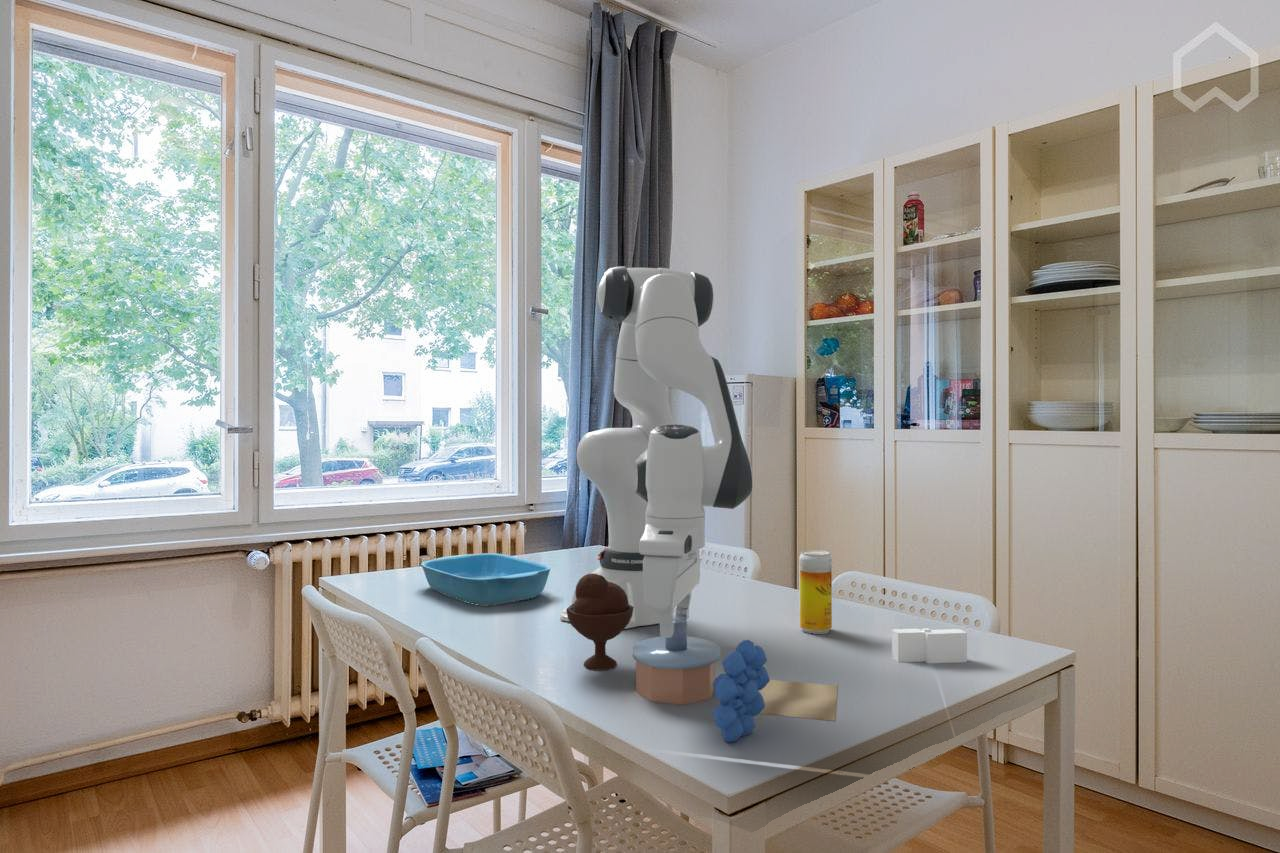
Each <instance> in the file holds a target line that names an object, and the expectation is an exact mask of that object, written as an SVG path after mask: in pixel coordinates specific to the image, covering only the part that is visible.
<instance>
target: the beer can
mask: <svg viewBox="0 0 1280 853" xmlns="http://www.w3.org/2000/svg"><path fill="white" fill-rule="evenodd" d="M832 568H833V567H832V556H831V555H830V552H829V551H826V550H816V549H813V550H812V549H809V550H806V549H805V550H803V551H801V552H800V555H799V557H798V600H799V601H798V610H799V611H798V624H799V625H798V626H799V627H800V628H801V631H802V630H803V631H802V632H804V633H807V634H811V633H813V634H814V635H822V634H828V633H829V632H830V630H831V629H832V626H833V624H832V623H833V621H832V620H833V619H832V618H833V617H832V616H833V615H832V613H833V612H832V610H833V609H832V607H833V603H832V602H833V600H832V596H833V595H832V592H833V591H832V588H833V587H832V584H833V583H832V579H833V578H832V576H833V574H832V571H833V569H832ZM813 634H812V635H813Z"/></svg>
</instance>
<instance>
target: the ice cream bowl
mask: <svg viewBox="0 0 1280 853" xmlns="http://www.w3.org/2000/svg"><path fill="white" fill-rule="evenodd" d="M575 588H576V590H575V589H574V590H575V594H576V598H577V600H576V601H575V602H574V604H572V603H571V604H572V605H571V604H570V605H571V606H570V605H568V606H569V607H568V606H567V607H568V608H567V609H566V610H567V615H568V619H569V621H570V622H569V621H568V622H569V623H570V626H572V627H573V628H574V629H575V630H576V631H577V633H579V634H580V635H582V636H583V637H585V638H586V639H587V640H590V641H592V642H593V643H594V654H593V655H591V656H590V657H588V658H586V660H585V661H584V662H583V664H582V665H583V667H585V669H587V670H591V671H607V670H612V669H616V667H617V665H618V663H617V661H616V660H615V659H614V658H613V657H611V656H609V655H607V653H606V644H607V642H608V641H610V640H612V639H615V637H617V636H619V635H620V634H621V633H622V631H624V630H625V629H624V628H625V627H626V626H627V625H628V624H629V622H630V619H631V617H632V614H633V608H634V607H633V606H631V605H629V604H628V597H627V595H626V593H625V591H624V590H623V589H622V588H621V587H620V586H619V585H617V584H615V583H612V582H607V580H606V579H605V578H604V577H603V576H602V575H598V574H591V573H587V574H585V575H582V577H581V578H580V579H579V580H578V581H577V583H576V585H575Z"/></svg>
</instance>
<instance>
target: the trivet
mask: <svg viewBox="0 0 1280 853" xmlns="http://www.w3.org/2000/svg"><path fill="white" fill-rule="evenodd" d="M838 687H839V686H838V685H832V684H821V683H811V682H798V681H790V680H776V679H770V681H769V682H768V684H767V685H766V686H765V687H764V688H763V689H761V690H758V691H759V692H760V693H761V695H762V697H763V699H764V703H765V707H764V709H763V710H762V711H761V712H760V713H759V714H760V715H768V716H770V715H771V716H776V717H777V716H779V717H787V718H788V717H789V718H800V719H808V720H816V721H817V720H818V721H828V722H836V714H837V701H838V689H839V688H838ZM759 714H758V715H759Z"/></svg>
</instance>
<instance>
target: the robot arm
mask: <svg viewBox="0 0 1280 853" xmlns="http://www.w3.org/2000/svg"><path fill="white" fill-rule="evenodd" d="M602 275H603V276H602V277H601V280H600V282H599V284H598V288H597V295H596V297H597V303H598V306H599V309H600V313H601V315H602V316H603V317H604V319H605V320H608V321H610V322H613V323H616V324H621V326H620V330H619V335H618V340H617V347H616V356H615V357H616V358H615V369H614V377H613V378H614V381H613V390H612V391H613V395H614V397H615V400H616V401H617V402H618V403H619V404H620V405H621V406H623V408H626V409H627V410H628V411H629V413H630V416H631V420H632V426H631V427H606V428H601V429H598V430H593V431H589V432H586V433H585V434H584V435H583V436H582V438H581V439H580V440H579V443H578V445H577V449H576V462H577V466H578V468H579V470H580V472H581V474H582V475H583V476H584V477H585V478H586V479H587V480H589V481H590V482H591V483H592V484H593V485H594V486H595V487H596V489H597V490H598V492H599V494H600V495H601V497H602V500H603V503H604V505H605V509H606V515H607V526H608V527H607V528H608V529H607V530H608V546H606V547H604V548H603V550H602V551H600V553H599V554H597V556H598V557H597V561H599V564H600V566H599V567H597V568H596V569H595V570H594V571H592V572H591V573H590V574H598V575H602V576H603V577H604V578H605V579H606V580H607V582H612V583H615V584H617V585H619V586H620V587H621V588H622V589H623V590H624V591H625V593H626V595H627V597H628V604H629V605H631V606H633V607H634V608H633V614H632V617H631V619H630V622H629V624H628V625H627V626H626V627H625V628H624V629H623V630H626V629H631V628H635V627H640V626H641V627H642V626H651V625H657V624H658V625H659V637H664V638H671V637H672V636H673V634H674V623H673V619H674V618H673V617H674V612H675V618H677V619H684V620H686V621H688V619H689V617H690V604H691V599H692V591H693V590H694V589H695V588H696V587H697V586H698V585H699V583H700V579H701V562H700V561H701V558H700V549H703V548H705V546H706V511H705V507H712V508H718V509H719V508H720V509H728V510H729V509H730V510H734V509H735V508H737V507H738V506H739V505H741V504H742V503H743V502H745V501H746V500H747V499H748V498H749V496H750V495H751V494H752V490H753V484H754V474H753V469H752V464H751V462H750V459H749V456H748V453H747V450H746V447H745V444H744V442H743V441H744V440H743V439H742V436H741V435H742V434H741V431H740V428H739V423H738V420H737V416H736V412H735V408H734V404H733V401H732V397H731V393H730V389H729V386H728V385H729V384H728V382H727V379H726V375H725V373H724V372H725V371H724V369H723V367H722V365H721V364H720V361H719V360H718V359H717V358H715V357H713V356H712V355H710V354H709V353H708V352H707V351H706V349H705V347H704V345H703V344H702V341H701V338H700V332H699V331H700V329H699V328H700V327H701V326H702V325H704V324H705V323H706V322H707V321H708V320H709V319H710V316H711V313H712V310H713V308H714V303H715V296H714V295H715V294H714V289H713V284H712V282H711V280H710V278H708V276H705V275H704V274H701V273H698V272H694V271H691V272H686V271H683V270H678V269H673V268H672V269H671V268H667V267H657V268H656V267H655V268H654V267H626V266H625V265H623V266H614V267H610V268H608V269H607V270H606V271H605V272H604V273H603V274H602ZM669 388H673V389H676V390H679V391H682V392H684V393H687V394H689V395H691V396H693V397H694V398H696V399H698V400H699V401H700V402H701V403H702V404H703V406H704V407H705V409H706V412H707V416H708V419H709V423H710V428H711V432H712V436H713V440H714V441H713V442H714V445H710V446H709V445H706V446H705V445H703V442H702V441H703V440H702V435H701V432H700V431H699V429H697V428H695V427H694V426H691V425H684V424H676V422H675V420H674V418H673V416H672V411H671V407H670V400H669V390H670V389H669ZM575 590H576V587H575V588H574V590H573V593H572V594H573V595H572V599H571V604H570V605H568V606H567V607H565V608H564V609H562V611H561V612H560V620H561V621H563V622H569V623H570V621H569V619H568V615H567V610H566V609H567V608H568V607H569V606H571V605H572V604H574V602H575V601H576V600H577V598H576V594H575ZM674 610H675V611H674Z"/></svg>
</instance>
